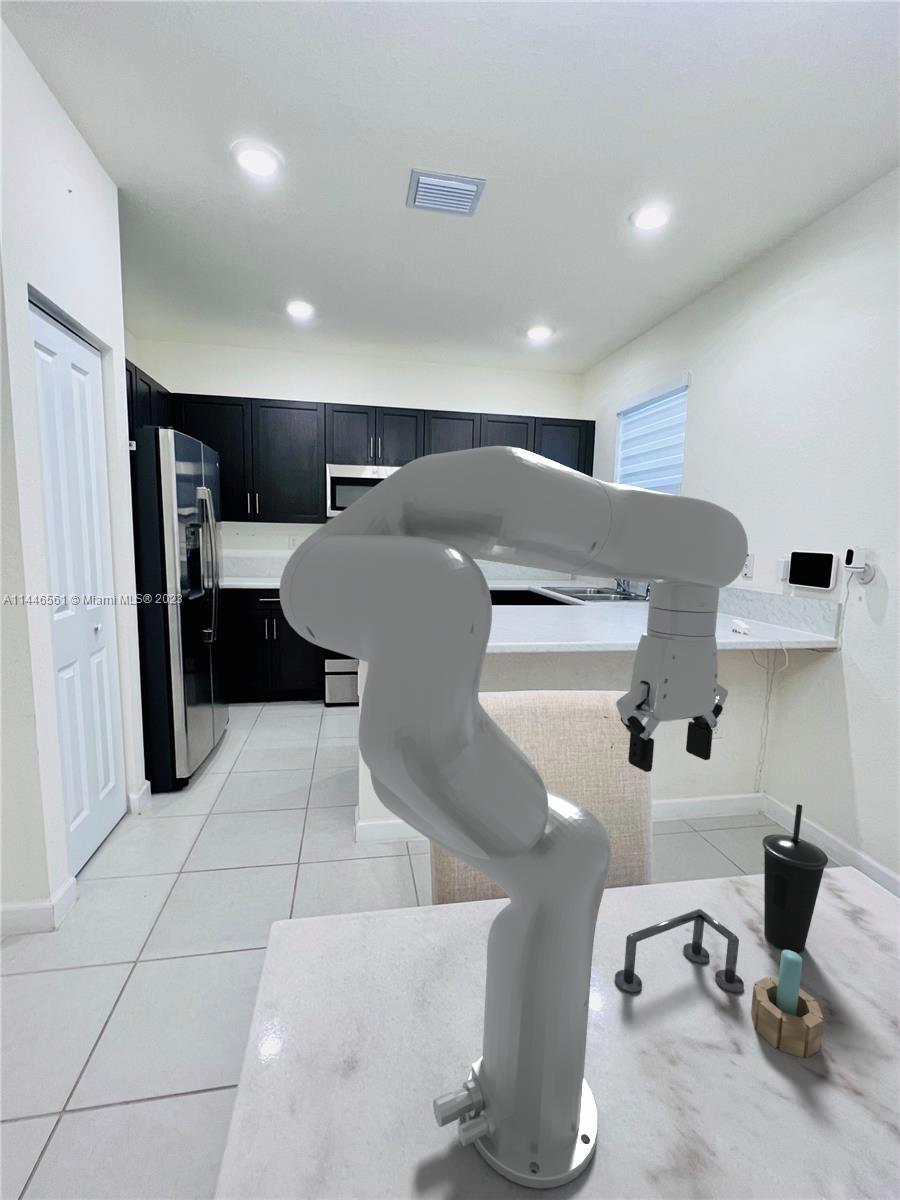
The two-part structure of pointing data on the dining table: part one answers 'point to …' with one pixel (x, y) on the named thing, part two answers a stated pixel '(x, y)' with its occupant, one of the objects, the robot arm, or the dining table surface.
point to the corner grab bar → (691, 950)
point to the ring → (786, 1020)
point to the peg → (789, 982)
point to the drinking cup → (790, 887)
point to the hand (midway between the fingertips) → (669, 761)
